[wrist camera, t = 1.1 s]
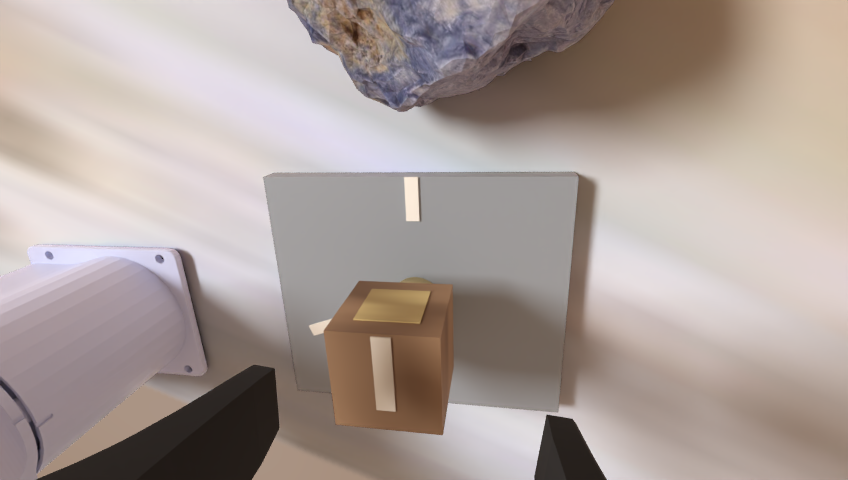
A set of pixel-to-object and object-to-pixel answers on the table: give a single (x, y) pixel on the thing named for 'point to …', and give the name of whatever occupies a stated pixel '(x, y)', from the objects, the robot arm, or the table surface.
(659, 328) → the table surface
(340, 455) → the table surface
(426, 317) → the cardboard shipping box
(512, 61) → the rock
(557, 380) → the plate
